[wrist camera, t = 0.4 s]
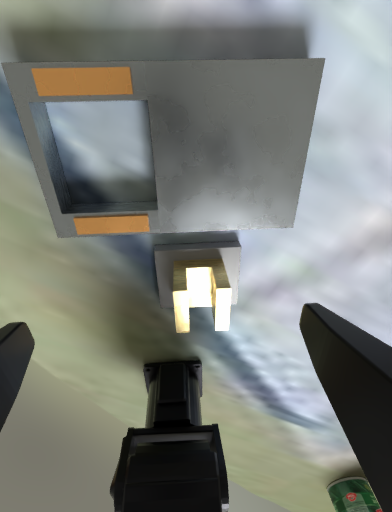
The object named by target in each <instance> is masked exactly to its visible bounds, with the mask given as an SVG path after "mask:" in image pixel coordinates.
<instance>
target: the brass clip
mask: <svg viewBox="0 0 392 512" xmlns="http://www.w3.org/2000/svg"><path fill="white" fill-rule="evenodd" d="M173 297H174V310H175V322H176V333H184V332H189V310H188V307H202V306H211V307H212V313H213V319H214V325H215V331H217V330H228V329H229V313H230V298H231V286H230V283H229V279H228V276H227V273H226V269H225V266H224V262H223V259H202V260H181V261H174V272H173Z"/></svg>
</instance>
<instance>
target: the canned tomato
mask: <svg viewBox="0 0 392 512" xmlns="http://www.w3.org/2000/svg"><path fill="white" fill-rule="evenodd" d="M327 491H328V492H329V495H330V498H331V500H332V503H333V505H334V508H335V510H336V512H382V510H381V508H380V506H379V504H378V502H377V500H376V498H375V496H374V494H373V492H372V490H371V488H370V486H369V484H368V482H367V480H366V479H365V478H363V477H347V478H343V479H339V480H337V481H334V482H333V483H331V484H330V485H329V486H328V487H327Z"/></svg>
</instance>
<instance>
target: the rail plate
mask: <svg viewBox="0 0 392 512" xmlns="http://www.w3.org/2000/svg"><path fill="white" fill-rule="evenodd" d="M324 62H325V58H304V59H233V60H162V61H91V62H20V63H1V64H2V67H3V70H4V73H5V76H6V80H7V83H8V86H9V89H10V92H11V95H12V98H13V101H14V104H15V107H16V110H17V113H18V116H19V119H20V122H21V126H22V129H23V132H24V135H25V138H26V141H27V144H28V147H29V150H30V153H31V156H32V159H33V162H34V165H35V168H36V172H37V175H38V178H39V181H40V184H41V187H42V190H43V193H44V196H45V199H46V202H47V205H48V208H49V211H50V214H51V218H52V221H53V224H54V227H55V230H56V233H57V236H58V238H64V237H88V236H111V235H134V234H157V233H180V232H203V231H226V230H249V229H272V228H293V225H294V220H295V215H296V209H297V204H298V199H299V194H300V188H301V183H302V178H303V173H304V167H305V162H306V157H307V152H308V146H309V141H310V136H311V131H312V125H313V120H314V115H315V110H316V104H317V99H318V94H319V89H320V83H321V78H322V73H323V68H324ZM135 100H148V110H149V120H150V130H151V140H152V151H153V161H154V171H155V181H156V192H157V201H143V202H117V203H90V204H72V201H71V198H70V194H69V191H68V187H67V183H66V180H65V176H64V172H63V169H62V165H61V161H60V158H59V154H58V150H57V147H56V143H55V140H54V136H53V132H52V129H51V125H50V121H49V118H48V114H47V110H46V107H45V103H44V102H87V101H135Z"/></svg>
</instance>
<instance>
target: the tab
mask: <svg viewBox="0 0 392 512" xmlns="http://www.w3.org/2000/svg"><path fill="white" fill-rule="evenodd" d="M154 255H155V263H156V272H157V281H158V289H159V298H160V306H161V308H173V307H174V297H173V272H174V261H181V260H202V259H223V262H224V266H225V269H226V273H227V276H228V279H229V283H230V286H231V298H230V304H237V294H238V282H239V269H240V257H241V245H240V243H239V241H235V242H213V243H191V244H168V245H155V248H154Z"/></svg>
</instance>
